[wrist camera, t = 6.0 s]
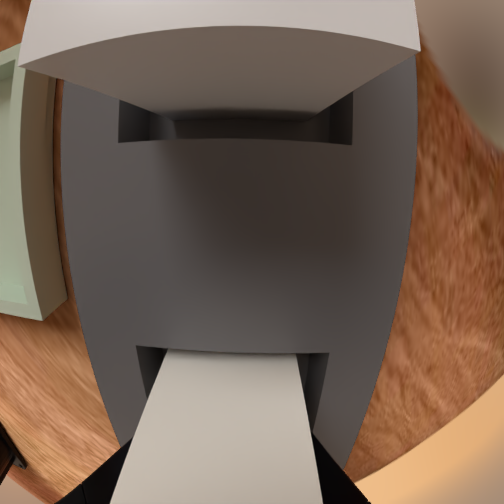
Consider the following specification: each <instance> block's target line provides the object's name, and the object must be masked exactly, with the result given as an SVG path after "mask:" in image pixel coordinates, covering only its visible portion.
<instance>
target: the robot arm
mask: <svg viewBox="0 0 504 504" xmlns="http://www.w3.org/2000/svg"><path fill="white" fill-rule="evenodd" d="M310 432H311V437H312V443H313V449H314V454H315V460H316V466H317V471H318V477H319V483H320V489H321V495H322V501H323V504H371V503H370V502H368V499H367V498H366V497H365V496H364V495H363V494H362V492H361V491H360V490H359V489H358V488H357V486H355V484H354V483H353V482H352V481H351V479H350V478H349V477H348V476H347V475H346V473H345V472H344V471H343V470H342V469H341V467H340V466H339V465H338V464H337V462H336V461H335V460H334V459H333V458H332V456H331V455H330V454H329V453H328V451H327V450H326V449H325V448H324V446H323V445H322V444H321V443H320V441H319V440H318V439H317V438H316V436H315V435H314V434H313V433H312V431H311V430H310ZM133 437H134V436H133ZM133 437H132V438H131V439H130V440H129V441H128V442H126V443H125V444H124V445H123V446H122V447H121V448H120V449H119V450H118V451H117V452H116V453H114V454H113V455H112V456H111V457H110V458H109V459H108V460H107V461H106V462H104V463H103V464H102V465H101V466H100V467H99V468H98V469H97V470H95V471H94V472H93V473H92V474H91V475H90V476H89V477H87V478H86V479H85V480H84V481H83V482H82V484H79V485H78V486H77V487H76V488H75V489H73V490H72V491H71V492H70V493H68V494H67V495H66V496H65V497H63V498H62V499H60V500H59V501H57V502H56V503H54V504H110V502H111V499H112V496H113V493H114V490H115V487H116V485H117V482H118V479H119V476H120V473H121V470H122V468H123V465H124V462H125V459H126V456H127V454H128V451H129V448H130V445H131V443H132V440H133ZM12 464H14V465H16V466H18V467H20V468H22V469H26V468H27V464H26V463H25V462H24V460H23V459H22V457H21V456H20V455H19V453H18V452H17V450H16V449H15V447H14V446H13V444H12V443H11V441H10V440H9V438H8V437H7V435H6V434H5V432H4V430H3V429H2V427H1V426H0V485H1V483H2V481H3V480H4V478H5V476H6V474H7V473H8V471H9V469H10V468H11V466H12Z"/></svg>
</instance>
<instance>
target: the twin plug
mask: <svg viewBox="0 0 504 504" xmlns="http://www.w3.org/2000/svg"><path fill="white" fill-rule="evenodd" d="M420 51H421V50H420V40H419V31H418V23H417V16H416V9H415V3H414V0H32V1H31V4H30V8H29V12H28V16H27V20H26V24H25V28H24V33H23V38H22V43H21V48H20V53H19V59H18V66H17V67H21V68H25V69H28V70H32V71H35V72H39V73H42V74H46V75H49V76H52V77H55V78H59V79H62V80H65V81H68V82H71V83H74V84H77V85H80V86H83V87H86V88H89V89H92V90H95V91H98V92H101V93H103V94H106V95H109V96H112V97H114V98H117V99H120V100H123V101H125V102H128V103H130V104H133V105H136V106H138V107H141V108H143V109H146V110H148V111H151V112H153V113H156V114H158V115H161V116H163V117H166V118H168V119H170V120H194V119H261V120H284V121H300V122H306V121H307V120H309V119H310V118H312V117H313V116H315V115H316V114H318V113H319V112H321V111H322V110H324V109H325V108H327V107H328V106H330V105H331V104H333V103H335V102H336V101H338V100H339V99H341V98H342V97H344V96H346V95H347V94H349V93H350V92H352V91H354V90H355V89H357V88H358V87H360V86H362V85H363V84H365V83H367V82H368V81H370V80H372V79H373V78H375V77H377V76H378V75H380V74H382V73H383V72H385V71H387V70H388V69H390V68H392V67H394V66H395V65H397V64H399V63H401V62H402V61H404V60H406V59H408V58H409V57H411V56H413V55H415V54H417V53H418V52H420Z"/></svg>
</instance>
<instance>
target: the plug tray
mask: <svg viewBox="0 0 504 504" xmlns="http://www.w3.org/2000/svg"><path fill="white" fill-rule="evenodd" d="M20 48H21V43H19V44H17V45H15V46H12V47H10V48H8V49H6V50H4V51H1V52H0V313H4V314H9V315H14V316H19V317H24V318H29V319H35V320H40V321H43V320H44V319H45V318H47V317H48V316H49V315H50V314H51V313H52V312H53V311H54V310H55V309H57V308H58V307H59V306H60V305H61V304H62V303H63V302H64V301H66V300H67V299H68V297H67V292H66V287H65V281H64V276H63V270H62V263H61V257H60V250H59V242H58V234H57V225H56V215H55V202H54V186H53V114H54V98H55V86H56V78H55V77H52V76H49V75H46V74H42V73H39V72H35V71H32V70H28V69H25V68H21V67H17V66H18V59H19V53H20Z"/></svg>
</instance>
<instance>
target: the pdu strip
mask: <svg viewBox="0 0 504 504" xmlns="http://www.w3.org/2000/svg"><path fill="white" fill-rule="evenodd" d="M417 123H418V108H417V75H416V59H415V55H413V56H411V57H409V58H408V59H406V60H404V61H402V62H401V63H399V64H397V65H395V66H394V67H392V68H390V69H388V70H387V71H385V72H383V73H382V74H380V75H378V76H377V77H375V78H373V79H372V80H370V81H368V82H367V83H365V84H363V85H362V86H360V87H358V88H357V89H355V90H354V91H352V92H350V93H349V94H347V95H346V96H344V97H342V98H341V99H339V100H338V101H336V102H335V103H333V104H331V105H330V106H328V107H327V108H325V109H324V110H322V111H321V112H319V113H318V114H316V115H315V116H313V117H312V118H310V119H309V120H307V121H306V122H300V121H284V120H261V119H194V120H170V119H168V118H166V117H163V116H161V115H158V114H156V113H153V112H151V111H148V110H146V109H143V108H141V107H138V106H136V105H133V104H130V103H128V102H125V101H123V100H120V99H117V98H114V97H112V96H109V95H106V94H103V93H101V92H98V91H95V90H92V89H89V88H86V87H83V86H80V85H77V84H74V83H71V82H68V81H65V80H64V87H63V99H62V116H61V184H62V202H63V214H64V225H65V235H66V243H67V251H68V258H69V265H70V271H71V277H72V283H73V289H74V294H75V299H76V304H77V309H78V313H79V318H80V322H81V327H82V331H83V335H84V339H85V343H86V347H87V350H88V354H89V358H90V361H91V365H92V368H93V371H94V375H95V378H96V381H97V384H98V387H99V390H100V394H101V396H102V399H103V402H104V405H105V408H106V411H107V413H108V416H109V419H110V422H111V424H112V427H113V429H114V432H115V434H116V437H117V439H118V442H119V444H120V446H121V447H122V446H123V445H124V444H125V443H126V442H128V441H129V440H130V439H131V438H132V437H133V436H134V435H135V432H136V429H137V427H138V424H139V421H140V419H141V416H142V414H143V411H144V408H145V406H146V403H147V401H148V398H149V395H150V393H151V390H152V388H153V385H154V383H155V380H156V378H157V375H158V373H159V370H160V368H161V365H162V363H163V360H164V358H165V355H166V353H167V350H168V348H170V349H182V350H196V351H213V352H236V353H296V358H297V363H298V368H299V374H300V379H301V384H302V389H303V394H304V400H305V405H306V410H307V416H308V421H309V427H310V430H311V431H312V433H313V434H314V435H315V436H316V438H317V439H318V440H319V441H320V443H321V444H322V445H323V446H324V448H325V449H326V450H327V451H328V453H329V454H330V455H331V456H332V458H333V459H334V460H335V461H336V462H337V464H338V465H339V466H340V467H341V469H342V470H343V469H344V467H345V465H346V462H347V460H348V458H349V455H350V453H351V451H352V448H353V446H354V443H355V441H356V438H357V436H358V433H359V430H360V428H361V425H362V422H363V420H364V417H365V414H366V411H367V408H368V405H369V403H370V400H371V397H372V394H373V391H374V387H375V384H376V381H377V378H378V375H379V371H380V368H381V364H382V361H383V357H384V354H385V350H386V347H387V343H388V339H389V335H390V331H391V327H392V323H393V319H394V314H395V310H396V306H397V301H398V296H399V291H400V286H401V281H402V276H403V270H404V265H405V259H406V253H407V246H408V239H409V232H410V224H411V216H412V207H413V198H414V187H415V174H416V157H417Z"/></svg>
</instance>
